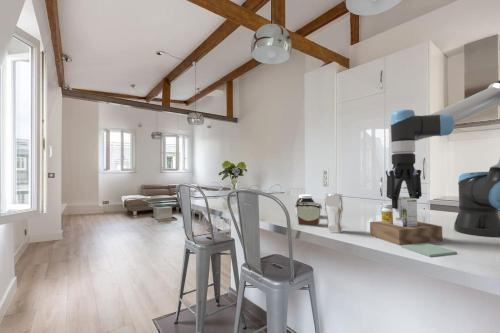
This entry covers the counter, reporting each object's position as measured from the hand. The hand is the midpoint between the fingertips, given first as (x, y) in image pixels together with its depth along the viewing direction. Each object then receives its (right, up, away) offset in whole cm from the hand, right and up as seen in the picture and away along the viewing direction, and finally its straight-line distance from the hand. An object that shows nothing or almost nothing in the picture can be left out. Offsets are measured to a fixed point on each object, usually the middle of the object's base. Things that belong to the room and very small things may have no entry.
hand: (404, 217), depth 98 cm
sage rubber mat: (-1, -7, -15) cm, 17 cm away
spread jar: (-26, -9, +47) cm, 54 cm away
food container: (-28, -8, +26) cm, 39 cm away
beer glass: (-22, -8, +12) cm, 26 cm away
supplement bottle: (+5, -8, +21) cm, 23 cm away
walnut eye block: (0, -8, 0) cm, 8 cm away
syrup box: (0, -8, 0) cm, 8 cm away
